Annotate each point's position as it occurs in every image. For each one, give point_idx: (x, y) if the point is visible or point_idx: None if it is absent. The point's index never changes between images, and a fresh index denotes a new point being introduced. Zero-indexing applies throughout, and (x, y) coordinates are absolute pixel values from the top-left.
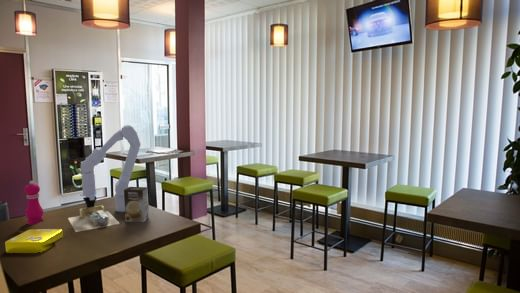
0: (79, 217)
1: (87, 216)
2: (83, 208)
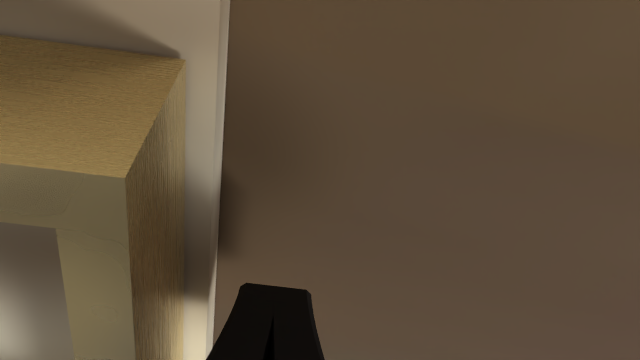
0: (56, 4)
1: None
2: (80, 274)
